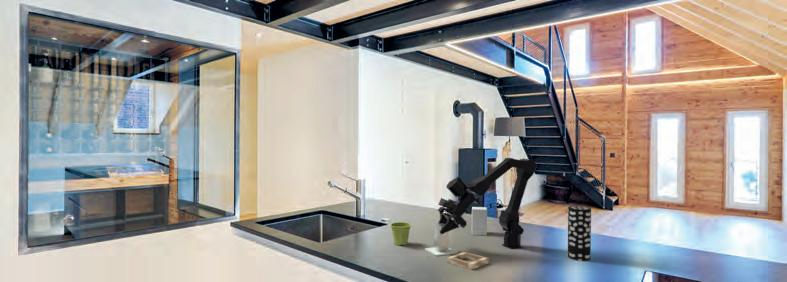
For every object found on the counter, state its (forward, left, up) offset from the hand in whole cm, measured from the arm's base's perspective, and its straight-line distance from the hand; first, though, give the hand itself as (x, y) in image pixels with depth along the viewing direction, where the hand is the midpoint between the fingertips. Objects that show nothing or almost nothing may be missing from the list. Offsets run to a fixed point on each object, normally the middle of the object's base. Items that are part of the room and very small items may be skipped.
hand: (438, 231), depth 166 cm
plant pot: (+10, -17, -8) cm, 21 cm away
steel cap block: (-1, 0, -7) cm, 7 cm away
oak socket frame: (-3, +17, -8) cm, 19 cm away
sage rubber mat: (-1, 0, -8) cm, 8 cm away
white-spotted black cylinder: (-48, +28, -8) cm, 57 cm away
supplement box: (-34, -20, -8) cm, 41 cm away
